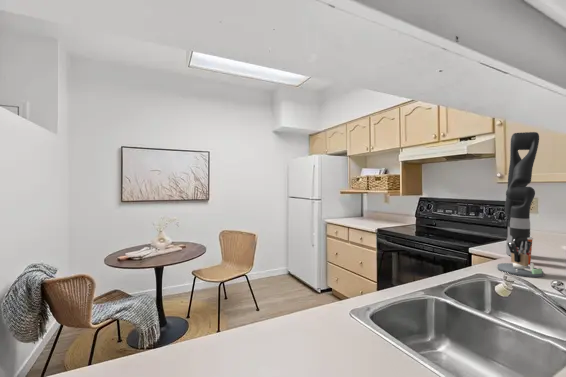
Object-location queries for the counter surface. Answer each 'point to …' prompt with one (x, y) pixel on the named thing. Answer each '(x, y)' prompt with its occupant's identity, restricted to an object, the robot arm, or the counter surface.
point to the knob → (522, 262)
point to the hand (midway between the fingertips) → (519, 261)
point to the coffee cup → (529, 250)
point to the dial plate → (520, 270)
